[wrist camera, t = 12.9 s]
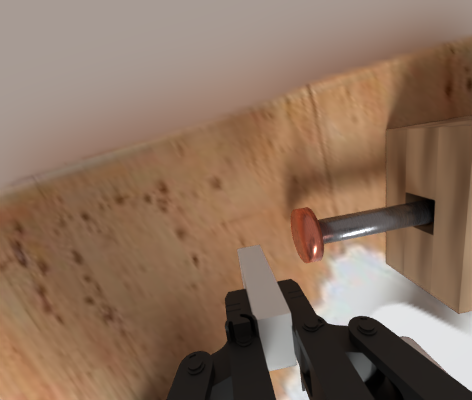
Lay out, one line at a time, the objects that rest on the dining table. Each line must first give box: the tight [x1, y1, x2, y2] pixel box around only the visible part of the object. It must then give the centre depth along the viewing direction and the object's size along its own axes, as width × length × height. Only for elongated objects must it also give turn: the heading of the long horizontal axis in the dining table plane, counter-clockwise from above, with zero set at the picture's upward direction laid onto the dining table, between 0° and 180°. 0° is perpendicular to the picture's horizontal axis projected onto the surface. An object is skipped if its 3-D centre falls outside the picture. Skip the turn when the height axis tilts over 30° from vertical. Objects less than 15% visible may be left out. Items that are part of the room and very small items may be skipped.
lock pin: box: [291, 199, 435, 263], centre depth 21 cm, size 14×4×4 cm, turn 99°
